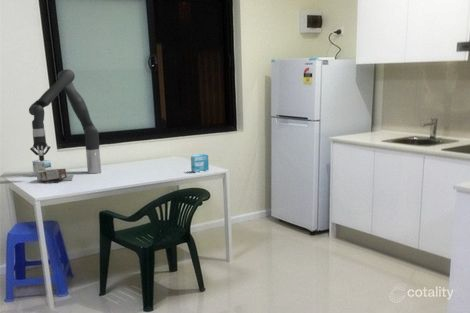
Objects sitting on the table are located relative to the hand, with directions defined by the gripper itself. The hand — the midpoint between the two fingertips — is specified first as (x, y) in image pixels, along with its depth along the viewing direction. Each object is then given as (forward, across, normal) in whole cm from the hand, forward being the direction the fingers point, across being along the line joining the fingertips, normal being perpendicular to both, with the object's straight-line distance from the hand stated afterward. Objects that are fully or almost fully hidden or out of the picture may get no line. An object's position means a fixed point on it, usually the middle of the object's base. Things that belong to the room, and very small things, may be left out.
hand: (41, 161), depth 291 cm
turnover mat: (+13, -10, 0) cm, 17 cm away
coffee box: (+10, +2, +1) cm, 10 cm away
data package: (+14, -105, +10) cm, 107 cm away
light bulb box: (+14, +3, -18) cm, 23 cm away
